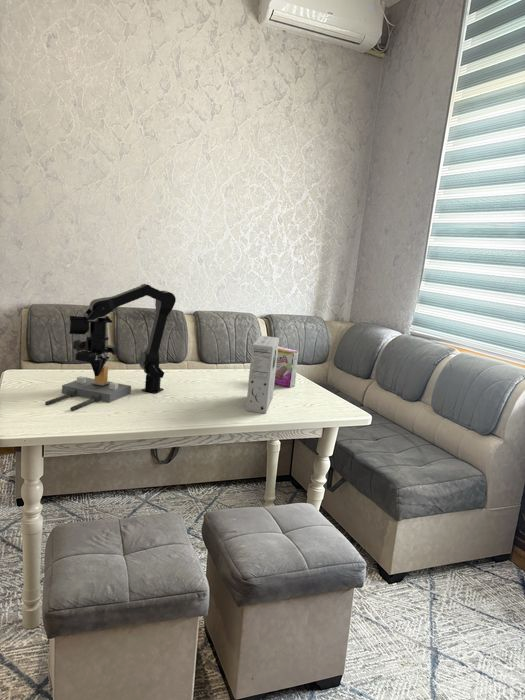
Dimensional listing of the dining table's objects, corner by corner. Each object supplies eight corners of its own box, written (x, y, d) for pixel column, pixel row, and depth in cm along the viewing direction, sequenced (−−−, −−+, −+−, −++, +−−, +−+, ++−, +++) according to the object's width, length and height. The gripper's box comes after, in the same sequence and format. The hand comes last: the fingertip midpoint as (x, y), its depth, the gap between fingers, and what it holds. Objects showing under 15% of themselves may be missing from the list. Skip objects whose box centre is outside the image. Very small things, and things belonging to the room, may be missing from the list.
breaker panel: (85, 384, 199) (85, 372, 198) (130, 393, 194) (131, 380, 193) (58, 394, 184) (58, 381, 183) (106, 404, 178) (107, 390, 177)
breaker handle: (99, 380, 194) (99, 364, 193) (110, 382, 193) (111, 366, 192) (91, 383, 189) (91, 366, 188) (102, 385, 188) (103, 368, 187)
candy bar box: (268, 382, 229) (272, 347, 226) (274, 381, 233) (277, 346, 230) (289, 388, 224) (293, 351, 220) (295, 386, 228) (299, 350, 225)
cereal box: (254, 395, 207) (260, 335, 203) (272, 397, 206) (279, 337, 202) (245, 410, 186) (252, 344, 181) (266, 413, 185) (273, 346, 181)
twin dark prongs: (73, 394, 185) (73, 391, 185) (100, 400, 182) (100, 396, 182) (43, 405, 171) (44, 401, 170) (72, 411, 168) (73, 407, 167)
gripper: (93, 328, 195) (92, 367, 198) (62, 334, 178) (61, 377, 181) (119, 332, 193) (117, 372, 196) (89, 339, 175) (88, 382, 178)
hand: (96, 375), depth 188 cm, fingers closed
